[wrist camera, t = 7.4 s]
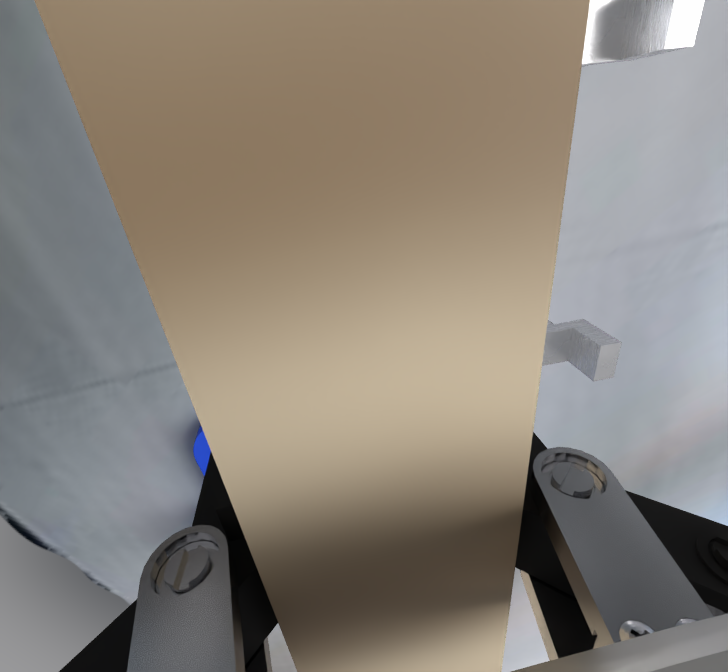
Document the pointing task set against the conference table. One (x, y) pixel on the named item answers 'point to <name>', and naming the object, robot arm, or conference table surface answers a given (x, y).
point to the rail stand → (606, 45)
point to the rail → (349, 284)
